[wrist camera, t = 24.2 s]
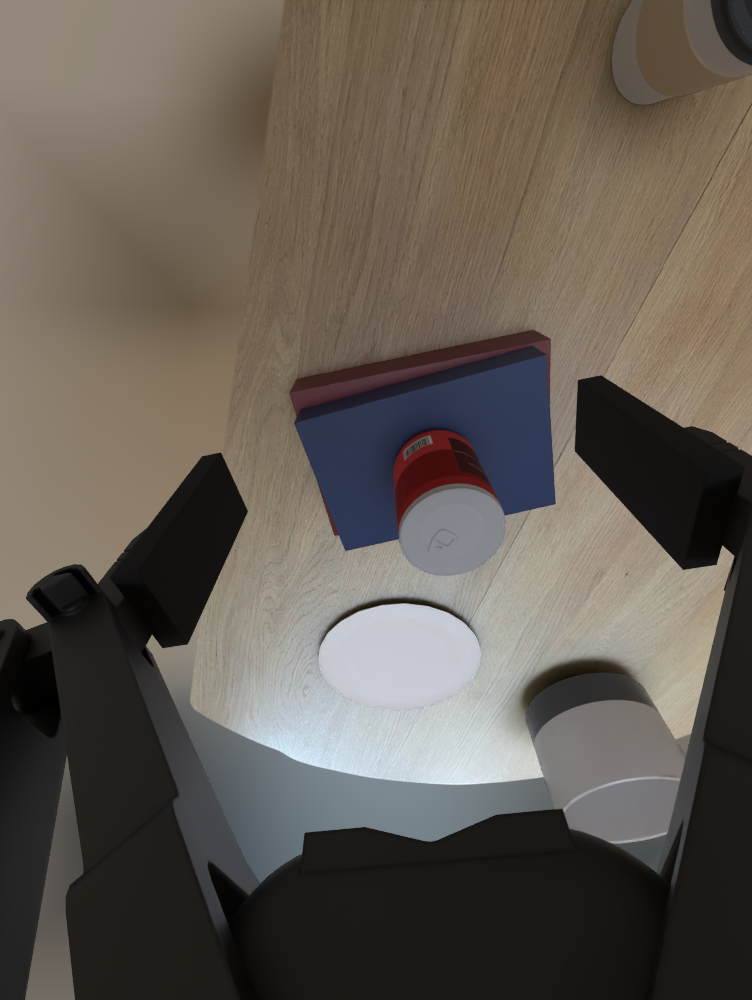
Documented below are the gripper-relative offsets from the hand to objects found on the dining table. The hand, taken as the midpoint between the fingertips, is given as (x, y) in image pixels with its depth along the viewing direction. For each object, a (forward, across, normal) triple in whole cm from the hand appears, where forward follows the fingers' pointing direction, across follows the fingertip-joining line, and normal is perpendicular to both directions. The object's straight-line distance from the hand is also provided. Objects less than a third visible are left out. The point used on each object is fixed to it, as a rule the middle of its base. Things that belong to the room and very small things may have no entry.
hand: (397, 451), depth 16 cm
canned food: (+21, +2, -12) cm, 25 cm away
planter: (+28, +20, -65) cm, 74 cm away
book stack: (+29, +2, -12) cm, 32 cm away
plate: (+28, -7, -48) cm, 57 cm away
